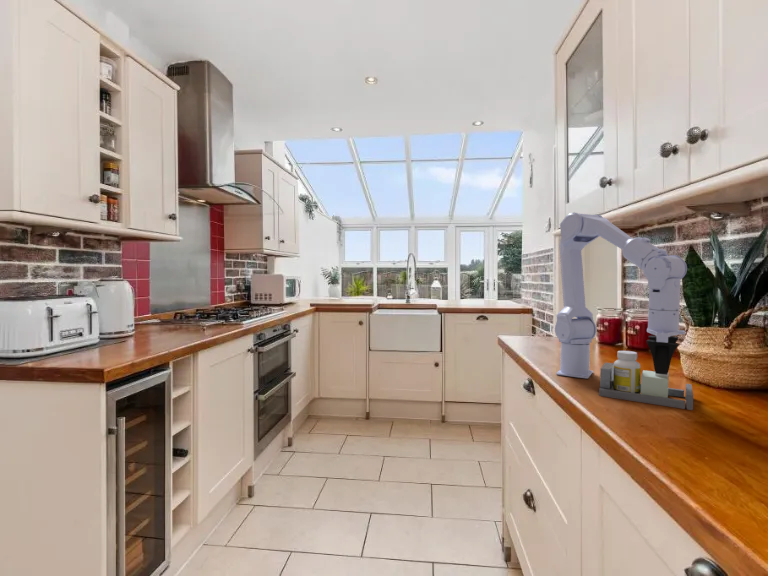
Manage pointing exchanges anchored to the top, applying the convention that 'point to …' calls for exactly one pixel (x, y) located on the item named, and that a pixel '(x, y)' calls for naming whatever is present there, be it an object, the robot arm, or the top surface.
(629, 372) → the supplement bottle
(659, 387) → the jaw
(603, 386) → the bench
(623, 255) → the robot arm
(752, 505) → the top surface
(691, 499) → the top surface
